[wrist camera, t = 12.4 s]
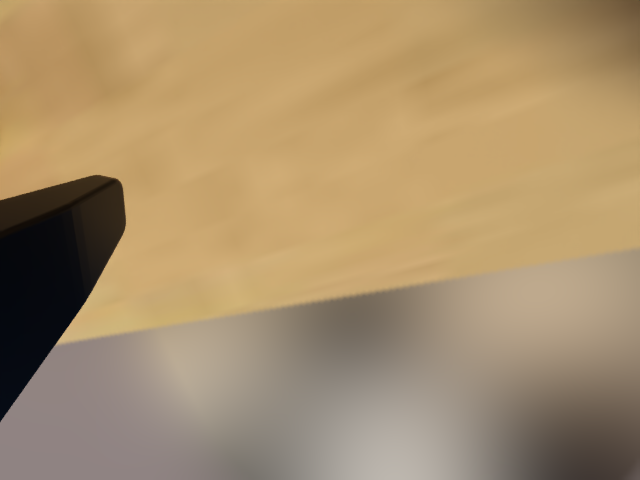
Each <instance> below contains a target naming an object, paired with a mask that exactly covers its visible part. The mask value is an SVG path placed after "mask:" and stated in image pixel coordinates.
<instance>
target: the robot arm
mask: <svg viewBox="0 0 640 480" xmlns="http://www.w3.org/2000/svg"><path fill="white" fill-rule="evenodd" d="M125 226H126V215H125V205H124V195H123V187H122V184H121V182H120V181H119V180H118V179H116V178H111V177H106V176H101V175H93V176H89V177H85V178H81V179H78V180H74V181H70V182H67V183H63V184H59V185H56V186H52V187H48V188H44V189H41V190H37V191H33V192H30V193H26V194H22V195H18V196H15V197H11V198H7V199H4V200H0V422H1V420H2V419H3V417H4V416H5V414H6V413H7V412H8V410H9V409H10V407H11V406H12V405H13V403H14V402H15V400H16V399H17V398H18V396H19V395H20V393H21V392H22V391H23V389H24V388H25V386H26V385H27V384H28V382H29V381H30V379H31V378H32V377H33V375H34V374H35V372H36V371H37V370H38V368H39V367H40V365H41V364H42V362H43V361H44V360H45V358H46V357H47V356H48V354H49V353H50V351H51V350H52V349H53V347H54V346H55V344H56V343H57V341H58V340H59V339H60V337H61V336H62V334H63V333H64V332H65V330H66V329H67V327H68V326H69V325H70V323H71V322H72V320H73V319H74V318H75V316H76V315H77V313H78V312H79V311H80V309H81V308H82V306H83V305H84V303H85V302H86V300H87V298H88V297H89V295H90V293H91V292H92V290H93V288H94V286H95V285H96V283H97V281H98V279H99V277H100V275H101V274H102V272H103V270H104V268H105V266H106V264H107V263H108V261H109V259H110V257H111V255H112V253H113V252H114V250H115V248H116V246H117V244H118V243H119V241H120V239H121V237H122V235H123V233H124V230H125Z"/></svg>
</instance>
